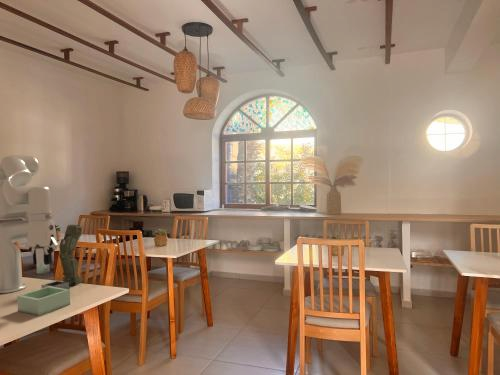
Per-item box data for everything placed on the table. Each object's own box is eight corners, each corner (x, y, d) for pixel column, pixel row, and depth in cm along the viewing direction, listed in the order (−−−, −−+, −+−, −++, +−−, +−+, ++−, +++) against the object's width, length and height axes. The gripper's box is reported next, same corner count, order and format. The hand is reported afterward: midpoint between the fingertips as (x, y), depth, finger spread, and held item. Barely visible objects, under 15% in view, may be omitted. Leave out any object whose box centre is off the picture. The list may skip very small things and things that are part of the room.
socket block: (41, 296, 154) (40, 285, 154) (58, 291, 161) (57, 280, 161) (52, 299, 150) (52, 287, 150) (69, 293, 158) (69, 282, 157)
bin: (18, 311, 137) (17, 295, 137) (50, 300, 149) (49, 286, 149) (38, 316, 131) (37, 300, 131) (70, 304, 143) (69, 289, 143)
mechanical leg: (64, 288, 162) (72, 223, 168) (50, 288, 163) (59, 223, 169) (84, 287, 175) (90, 226, 181) (71, 286, 176) (78, 226, 183)
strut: (42, 270, 142) (41, 240, 142) (52, 270, 141) (50, 240, 141) (33, 273, 138) (32, 242, 138) (43, 273, 137) (42, 242, 137)
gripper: (65, 216, 141) (68, 262, 141) (30, 217, 145) (32, 261, 145) (51, 218, 134) (53, 266, 134) (14, 219, 137) (16, 266, 138)
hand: (42, 263), depth 140 cm, fingers closed on strut, 4 cm apart
